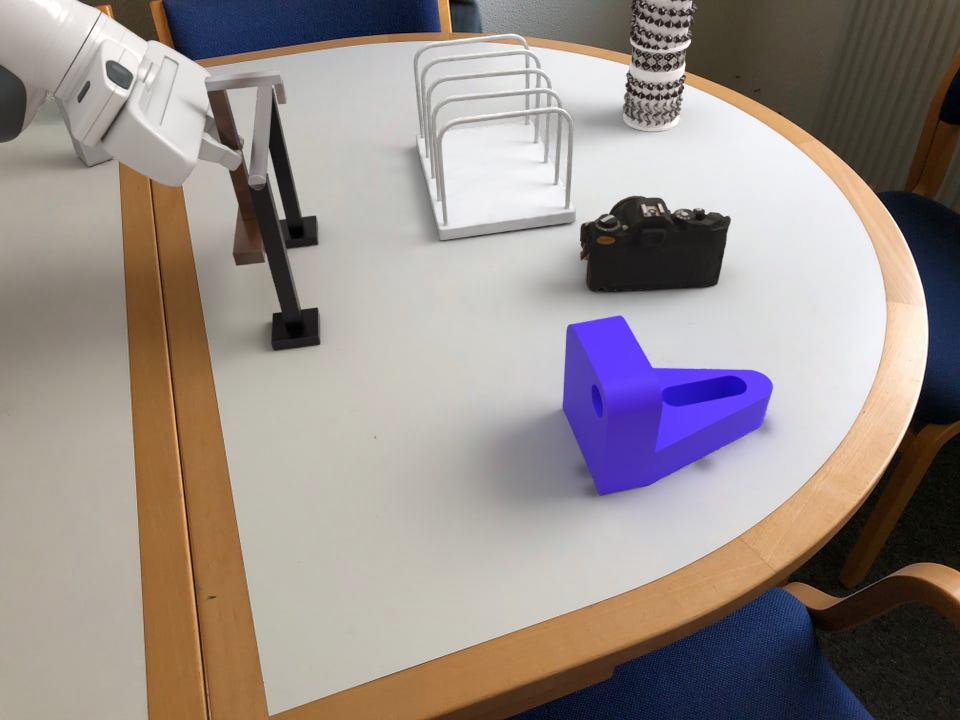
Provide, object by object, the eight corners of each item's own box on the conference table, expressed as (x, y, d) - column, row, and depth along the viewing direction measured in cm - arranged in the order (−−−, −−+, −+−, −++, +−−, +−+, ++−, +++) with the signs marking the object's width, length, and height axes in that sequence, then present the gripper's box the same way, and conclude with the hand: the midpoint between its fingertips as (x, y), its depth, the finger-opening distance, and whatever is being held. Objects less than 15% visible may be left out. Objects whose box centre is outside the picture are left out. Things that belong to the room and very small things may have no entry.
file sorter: (416, 146, 116) (405, 39, 106) (532, 132, 118) (533, 26, 108) (440, 241, 98) (430, 124, 88) (576, 224, 100) (582, 106, 89)
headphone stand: (236, 266, 83) (189, 112, 71) (243, 196, 93) (204, 51, 81) (312, 257, 83) (278, 103, 72) (311, 188, 93) (281, 44, 82)
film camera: (681, 224, 99) (692, 151, 92) (737, 279, 91) (754, 204, 84) (550, 257, 95) (552, 183, 88) (596, 318, 86) (602, 242, 80)
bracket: (599, 495, 69) (609, 401, 61) (562, 407, 77) (567, 314, 69) (789, 455, 72) (823, 359, 64) (735, 374, 79) (758, 280, 71)
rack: (273, 350, 85) (226, 187, 71) (278, 227, 102) (241, 77, 88) (320, 344, 85) (282, 181, 72) (317, 223, 102) (286, 73, 89)
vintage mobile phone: (101, 147, 120) (32, -29, 103) (114, 159, 117) (44, -20, 100) (77, 155, 118) (2, -22, 101) (89, 168, 115) (14, -13, 98)
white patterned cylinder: (683, 107, 122) (710, -71, 105) (679, 135, 116) (706, -50, 99) (624, 102, 124) (640, -73, 107) (617, 130, 118) (633, -53, 101)
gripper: (112, 55, 83) (230, 131, 91) (70, 148, 68) (215, 230, 76) (142, 7, 81) (261, 90, 88) (104, 93, 66) (251, 183, 73)
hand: (240, 155), depth 82 cm, fingers closed on headphone stand
